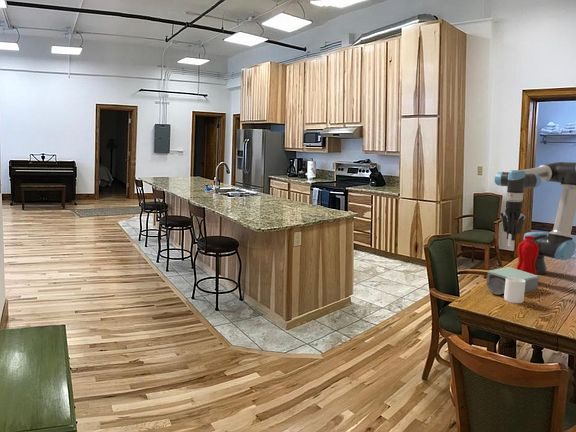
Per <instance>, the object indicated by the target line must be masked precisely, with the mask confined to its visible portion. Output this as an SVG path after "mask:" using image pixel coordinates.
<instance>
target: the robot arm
mask: <svg viewBox="0 0 576 432" xmlns="http://www.w3.org/2000/svg"><path fill="white" fill-rule="evenodd" d="M542 182H543V183H545V182H552V183H557V184H558V183H559V184H560V187H561V189H562V190H561V193H560V194H561V195H560V198H559V203H558V207H557V211H556V216H555V221H554V224H553V228H552V230H551V231H549V232H548V233H547V232H546V231H545V232H544V231H543V232H542V231H530V232H526V233H524V235H523V239H522V242H523V241H524V238H525V236H534V241H533V242H535V243H536V244H537V245H538V247H539V253H538V256H537V258H536V261H535V268H536V275H544V274H546V273H547V265H546V261H545V257H547V258H551V259H555V260H561V261H567V260H570V259H571V258H572V257H573V255H574V254H575V251H576V242H575V241H574V240H573V239H574V237H573V235H572V233H571V232H572V228H573V225H574V222H575V218H576V217H575V216H576V162H570V161H568V162H564V161H559V162H553V163H552V162H551V163H546V164H541V165H539V166H537V167H533V168H532V167H531V168H526V169H511V170H509V171H501V172H500V171H499V172H497V173H495V176H494V184H495V185H496V186H500V187H506V188H507V189H506V200H505V210H504V211H503V212H500V216H501V220H502V229H503V232H505V233H506V240H507V247H510V248H511V247H514V242H515V241H516V238H517V237H516V236H517V235H518V234H520V233H521V231H522V228H523V225H524V222H525V220H526V218H527V215H524V214H523V212H522V209H523V203H524V202H523V200H524V190H525V189H536V188H538V187H540V186H541V183H542Z"/></svg>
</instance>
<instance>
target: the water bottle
mask: <svg viewBox="0 0 576 432" xmlns="http://www.w3.org/2000/svg"><path fill="white" fill-rule="evenodd" d="M523 238H524V237H523ZM533 241H534V236H525V238H524V241H523V240H522V241H520V242H519V243H518V245H517V247H516V250H517V257H518V263H517V265H516V268H515V269H518V270H521V271H524V272H528V273H531V274H534V275H537V274H536V268H535V261H536V258H537V256H538V253H539V247H538V245H537V244H536V243H535V242H533Z"/></svg>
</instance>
